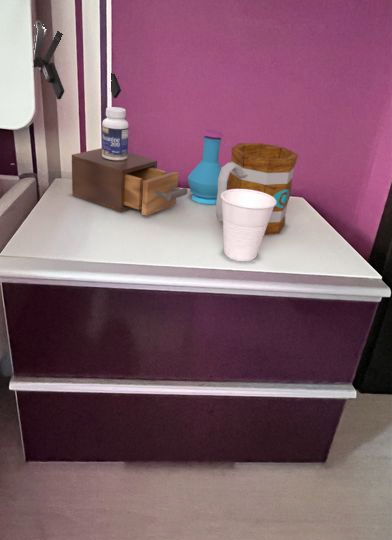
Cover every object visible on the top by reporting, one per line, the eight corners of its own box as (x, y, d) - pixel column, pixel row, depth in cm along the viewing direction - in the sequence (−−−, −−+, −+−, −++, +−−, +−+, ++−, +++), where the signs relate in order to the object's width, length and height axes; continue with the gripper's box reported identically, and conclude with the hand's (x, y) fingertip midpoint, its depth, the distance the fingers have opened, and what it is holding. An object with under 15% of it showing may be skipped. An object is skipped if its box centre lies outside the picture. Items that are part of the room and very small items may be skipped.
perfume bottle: (209, 191, 135) (216, 125, 127) (233, 203, 130) (243, 135, 121) (178, 195, 130) (184, 127, 122) (201, 208, 125) (209, 138, 116)
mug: (248, 208, 128) (259, 139, 120) (297, 227, 121) (312, 155, 112) (189, 225, 115) (196, 150, 107) (239, 247, 108) (251, 169, 100)
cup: (227, 268, 99) (235, 208, 93) (205, 246, 107) (212, 189, 101) (275, 264, 103) (287, 206, 97) (251, 243, 110) (260, 187, 104)
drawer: (192, 209, 120) (195, 177, 117) (162, 221, 113) (164, 187, 109) (131, 189, 127) (132, 158, 124) (99, 199, 120) (99, 167, 116)
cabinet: (155, 200, 126) (157, 160, 121) (120, 212, 117) (121, 170, 112) (108, 185, 131) (108, 146, 127) (72, 195, 123) (71, 154, 118)
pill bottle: (97, 157, 118) (97, 108, 113) (110, 152, 122) (110, 105, 117) (119, 162, 117) (121, 113, 111) (132, 157, 121) (133, 109, 116)
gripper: (100, 22, 132) (132, 104, 130) (-5, 15, 118) (30, 106, 116) (112, -3, 125) (146, 83, 124) (3, -13, 111) (40, 83, 110)
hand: (90, 95), depth 120 cm, fingers open, 13 cm apart
